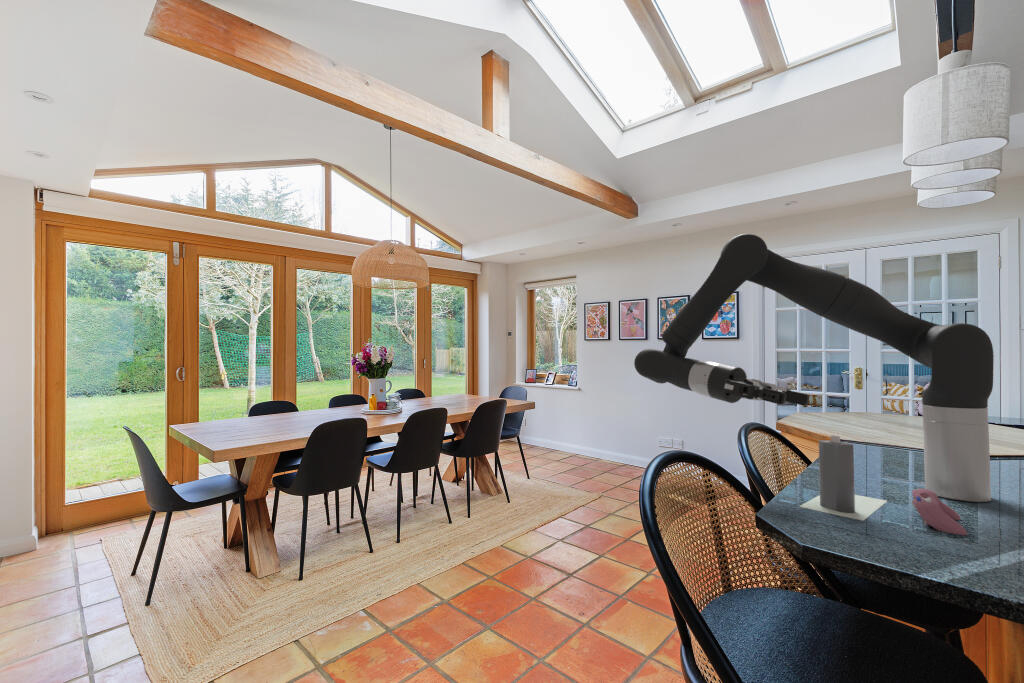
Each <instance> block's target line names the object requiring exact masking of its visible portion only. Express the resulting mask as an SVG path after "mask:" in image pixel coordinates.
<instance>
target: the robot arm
mask: <svg viewBox="0 0 1024 683" xmlns="http://www.w3.org/2000/svg"><path fill="white" fill-rule="evenodd" d="M746 281H747V282H751V283H754V284H756V285H758V286H762V287H765V288H767V289H770V290H772V291H773V292H775V293H778V294H779V295H781V296H783V297H785V298H786V299H788V300H790V301H792V302H793V303H795V305H798V306H800V307H802V308H804V309H806V310H808V311H809V312H812V313H814V314H815V315H818V316H820V317H821V318H825V319H826V320H829V322H833V323H835V324H837V325H840V326H843V328H844V327H845V328H847V329H850V330H852V331H854V332H856V333H859V334H862V335H864V336H867V337H870V338H872V339H875V340H877V341H880V342H881V343H884V344H886V345H888V346H890V347H892V348H893V349H894V350H897V351H898V352H900V353H902V354H904V356H908V357H909V358H910V359H912V360H914V361H915V362H917V363H919V364H920V365H922V366H924V367H927V368H929V369H931V377H930V379H931V380H930V383H929V385H928V386H927V387H926V388H925V389H924V390H923V391H922V394H921V403H922V406H921V408H922V428H923V429H922V430H923V431H922V432H923V433H922V434H923V435H922V436H923V458H924V459H923V462H924V467H923V468H924V489H928V490H930V491H932V492H934V493H935V494H936V495H937V496H938V497H942V498H946V499H951V500H955V501H956V500H958V501H965V502H975V503H976V502H977V503H985V502H990V501H992V488H991V487H992V486H991V485H992V484H991V483H992V482H991V477H992V476H991V457H990V456H991V455H990V454H991V453H990V432H989V428H990V426H989V408H988V407H989V406H988V404H989V402H988V400H989V398H990V397H991V394H992V392H993V388H994V364H995V363H994V361H995V360H994V356H995V355H994V348H993V347H994V346H993V343H992V341H991V338H990V336H989V335H988V333H986V331H985V330H984V329H982V328H980V327H979V326H976V325H975V324H971V323H960V322H959V323H949V324H937V323H934V322H931V321H928V320H926V319H922V318H920V317H917V316H914V315H912V314H909V313H907V312H905V311H903V310H902V309H900V308H897V307H896V306H895V305H894V304H892V303H891V301H889V300H888V299H887V298H885V297H884V296H882V294H880V293H879V292H877V291H875V289H873V288H871V287H869V286H867V285H866V284H863V283H861V282H859V281H857V280H854V279H852V278H850V277H847V276H845V275H843V274H839V273H836V272H834V271H831V270H828V269H824V268H820V267H816V266H812V265H808V264H803V263H800V262H796V261H793V260H790V259H788V258H786V257H783V256H781V255H780V254H778V253H775V252H774V251H772V250H771V249H769V248H768V246H767V244H766V242H765V240H764V239H763V238H762V237H760V236H758V235H756V234H754V233H742V234H739V235H736V236H734V237H732V238H730V239H729V240H728V241H727V242H726V243H725V245H724V246H723V247H722V249H721V252H720V256H719V258H718V261H717V262H716V264H715V266H714V267H713V269H712V271H711V272H710V273H709V275H708V277H707V278H706V280H705V281H704V282H703V283H702V285H701V286H700V287H699V289H698V290H697V291H696V292H695V293H694V295H693V296H692V297H691V298H690V299H689V300H688V301H687V303H686V304H684V306H683V307H682V308H681V309H680V310H679V312H678V313H677V314H676V315H675V316H674V318H672V321H671V322H670V323H669V324H668V326H666V328H665V330H664V331H663V333H662V334H661V338H662V341H663V342H664V344H665V346H664V348H663V350H660V349H656V348H646V349H645V348H644V349H643V350H641V351H640V352H638V353H637V355H636V356H635V357H634V368H635V370H636V372H637V373H638V374H639V375H640V376H642V377H644V378H645V379H648V380H651V381H652V382H655V383H657V384H666V383H668V384H671V385H672V386H675V387H677V388H680V389H683V390H687V391H691V392H694V393H697V394H699V395H702V396H705V397H708V398H712V399H716V400H719V401H722V402H725V403H730V404H735V403H737V402H739V401H740V400H741V399H746V400H751V401H756V402H757V401H758V402H759V401H764V402H769V403H773V404H777V405H781V406H783V405H785V404H786V403H791V404H795V405H800V406H808V405H809V400H810V395H809V394H807V393H802V392H798V391H793V390H792V389H791V388H789V387H783V386H777V385H776V384H774V383H772V382H771V383H770V382H765V381H764V382H763V381H761V380H760V379H756V378H748V376H747V373H746V371H745V370H744V369H743V368H741V367H739V366H733V365H731V364H730V365H729V364H725V363H718V362H714V361H706V360H699V359H694V358H688V357H686V356H687V353H688V351H689V349H690V348H691V347H692V346H693V344H695V342H696V341H697V340H698V339H699V337H700V336H701V335H702V333H703V332H704V331H705V330H706V328H707V327H708V326H709V324H710V323H711V322H712V320H713V319H714V317H715V316H716V315H717V314H718V312H719V311H720V310H721V308H722V307H723V305H724V304H725V303H726V302H727V300H728V299H730V297H731V296H732V295H733V294H734V293H735V292H736V291H737V290H738V289H739V288H740V287H741V286H742V285H743V284H744V283H745V282H746Z"/></svg>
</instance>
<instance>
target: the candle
mask: <svg viewBox="0 0 1024 683" xmlns="http://www.w3.org/2000/svg"><path fill="white" fill-rule="evenodd" d="M854 452H855V451H854V444H853V443H849V442H842V441H841V436H840V435H834V434H831V435H830V440H825V439H821V440H818V470H819V471H818V474H819V475H818V476H819V495H820V505H821V506H822V507H825V508H828V509H832V510H835V511H838V512H843V513H855V495H856V492H855V464H854V463H855V462H854V461H855V460H854V454H855V453H854Z"/></svg>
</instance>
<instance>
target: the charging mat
mask: <svg viewBox="0 0 1024 683" xmlns="http://www.w3.org/2000/svg"><path fill="white" fill-rule="evenodd" d="M887 502H888V500H885V499H880V498H875V497H869V496H863V495H858V494H855V513H843V512H838V511H835V510H832V509H828V508H825V507H822V506H821V505H820V494H819V495H817V496H816V497H814V498H811V499H809V500H808V501H806V502H804V503H803V504H801V505H799V506H798V507H799V508H804V509H808V510H811V511H816V512H820V513H821V512H822V513H826V514H832V515H834V516H835V515H836V516H838V517H844V518H848V519H855V520H858V521H862V522H864V521H866V519H867V518H869V517H870V516H871V515H873V514H874V513H875V512H876V511H878V510H879V509H880V508H881V507H882V506H884V505H885V504H886V503H887Z"/></svg>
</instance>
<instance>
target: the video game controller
mask: <svg viewBox="0 0 1024 683" xmlns="http://www.w3.org/2000/svg"><path fill="white" fill-rule="evenodd" d="M911 494H912V496H913V497H912V498H913V499H911V505H912V506H913V507H914V508H915V510H916V511H917V513H918V516H920V517H921V518H922V520H923V521H924V522H923V524H926V525H927V526H930V527H932V528H934V529H935V530H936V531H940V532H943V533H948V534H954V535H961V536H968V531H967V530H966V529H965V527H964V526H963V525H962V524H960V523H959V522H957V520H958V521H959V520H961V517H960V515H959V514H958V513H957V512H956V511H955V510H954V509H953V508H951V507H950V506H949V505H947V504H946V503H944V502H943V501H942V500H941V499H940V498H939V496H937V495H936V494H935V493H934V492H932V491H930V490H928V489H925V488H917V489H916V488H915V489H913V490H912V492H911Z"/></svg>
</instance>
